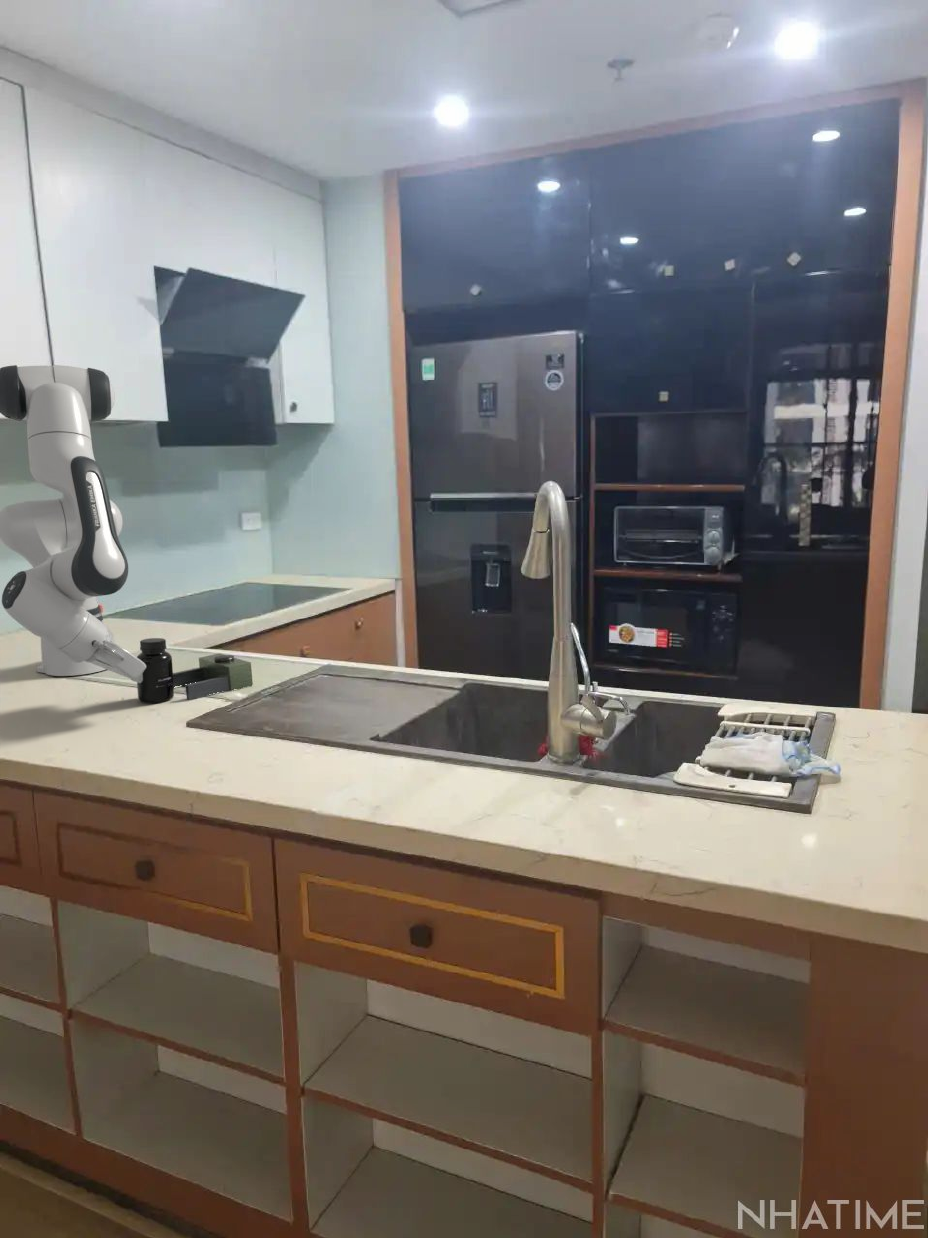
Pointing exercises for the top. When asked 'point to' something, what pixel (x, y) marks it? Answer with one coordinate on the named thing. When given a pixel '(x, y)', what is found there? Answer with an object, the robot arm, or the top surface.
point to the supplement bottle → (155, 672)
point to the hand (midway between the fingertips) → (139, 679)
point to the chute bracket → (214, 676)
